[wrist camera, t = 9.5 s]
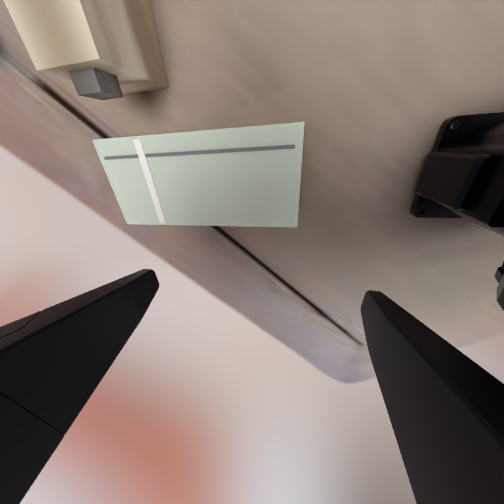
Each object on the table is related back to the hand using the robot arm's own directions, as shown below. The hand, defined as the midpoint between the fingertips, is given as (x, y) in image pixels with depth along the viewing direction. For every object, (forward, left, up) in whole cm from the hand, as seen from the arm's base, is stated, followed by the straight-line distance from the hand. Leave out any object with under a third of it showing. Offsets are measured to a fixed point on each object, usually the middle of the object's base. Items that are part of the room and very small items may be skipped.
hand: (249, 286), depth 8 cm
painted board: (+6, -3, -11) cm, 13 cm away
